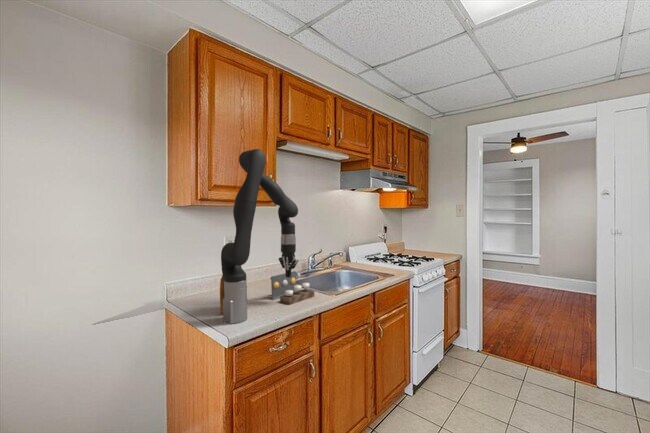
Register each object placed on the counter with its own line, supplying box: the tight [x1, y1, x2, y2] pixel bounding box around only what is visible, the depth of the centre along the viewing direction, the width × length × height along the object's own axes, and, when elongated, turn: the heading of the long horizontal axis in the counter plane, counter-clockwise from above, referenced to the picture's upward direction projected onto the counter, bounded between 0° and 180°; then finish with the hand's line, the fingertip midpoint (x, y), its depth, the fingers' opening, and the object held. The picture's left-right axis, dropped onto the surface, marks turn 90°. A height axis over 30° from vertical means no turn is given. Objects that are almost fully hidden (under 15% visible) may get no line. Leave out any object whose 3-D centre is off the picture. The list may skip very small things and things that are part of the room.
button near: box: [285, 290, 293, 296], centre depth 156 cm, size 4×4×2 cm
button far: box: [301, 282, 310, 289], centre depth 165 cm, size 4×4×2 cm
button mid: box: [294, 284, 302, 291], centre depth 161 cm, size 4×4×2 cm
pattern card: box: [269, 270, 297, 301], centre depth 168 cm, size 18×3×12 cm, turn 139°
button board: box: [279, 288, 315, 306], centre depth 161 cm, size 18×7×3 cm, turn 139°
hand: (288, 277), depth 156 cm, fingers closed
